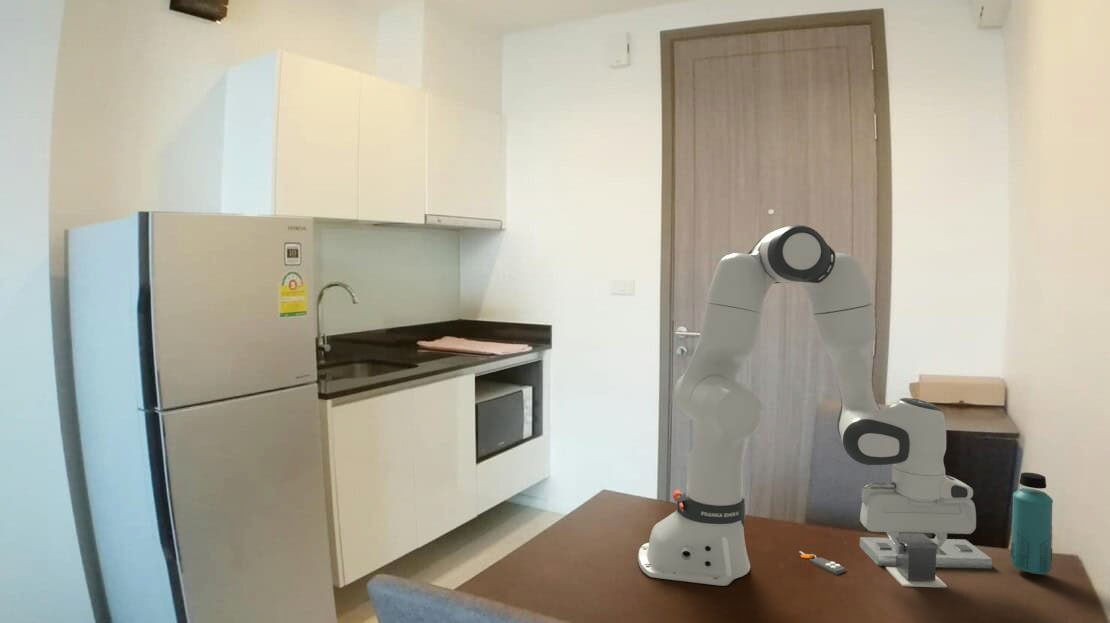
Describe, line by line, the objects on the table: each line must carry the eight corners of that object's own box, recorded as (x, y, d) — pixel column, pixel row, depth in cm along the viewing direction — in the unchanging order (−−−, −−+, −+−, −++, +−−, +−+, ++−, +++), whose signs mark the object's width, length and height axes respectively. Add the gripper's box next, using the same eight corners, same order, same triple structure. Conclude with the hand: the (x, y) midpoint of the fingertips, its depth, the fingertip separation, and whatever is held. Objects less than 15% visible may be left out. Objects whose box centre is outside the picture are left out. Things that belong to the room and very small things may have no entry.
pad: (902, 586, 118) (902, 584, 118) (885, 568, 125) (885, 566, 125) (946, 587, 117) (946, 585, 117) (927, 569, 124) (927, 567, 124)
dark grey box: (907, 580, 119) (908, 544, 118) (894, 567, 124) (895, 532, 123) (936, 581, 118) (938, 545, 118) (922, 567, 123) (923, 533, 123)
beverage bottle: (1058, 583, 118) (1063, 480, 117) (1019, 580, 120) (1023, 478, 118) (1039, 567, 125) (1043, 470, 123) (1002, 565, 126) (1006, 468, 125)
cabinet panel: (877, 565, 126) (878, 554, 126) (859, 546, 135) (859, 535, 135) (991, 568, 125) (991, 557, 124) (965, 548, 134) (965, 538, 133)
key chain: (847, 573, 124) (847, 565, 124) (835, 577, 122) (835, 570, 122) (793, 548, 136) (793, 541, 135) (782, 552, 134) (782, 545, 134)
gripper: (869, 487, 118) (867, 558, 118) (982, 490, 116) (979, 562, 117) (855, 476, 124) (853, 544, 125) (962, 478, 122) (960, 547, 123)
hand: (915, 553), depth 121 cm, fingers open, 5 cm apart
